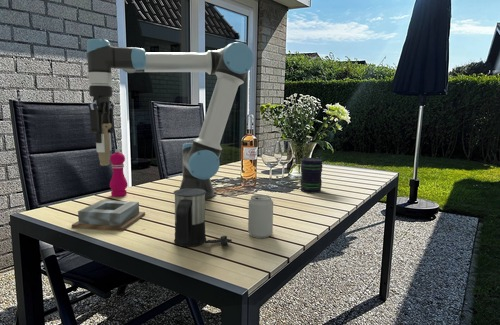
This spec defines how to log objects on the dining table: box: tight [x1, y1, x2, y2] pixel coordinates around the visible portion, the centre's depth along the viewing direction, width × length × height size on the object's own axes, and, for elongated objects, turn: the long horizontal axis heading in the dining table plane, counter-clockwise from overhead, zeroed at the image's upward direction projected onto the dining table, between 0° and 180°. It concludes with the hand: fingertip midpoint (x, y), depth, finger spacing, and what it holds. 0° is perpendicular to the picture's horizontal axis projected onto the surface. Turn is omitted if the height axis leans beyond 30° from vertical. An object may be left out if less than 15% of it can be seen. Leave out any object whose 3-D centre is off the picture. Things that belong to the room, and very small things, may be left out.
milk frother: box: [173, 188, 233, 248], centre depth 102 cm, size 14×16×15 cm
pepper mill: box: [109, 148, 128, 198], centre depth 155 cm, size 7×7×20 cm
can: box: [247, 194, 274, 239], centre depth 110 cm, size 8×8×12 cm
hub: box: [71, 199, 146, 232], centre depth 121 cm, size 17×17×5 cm
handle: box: [97, 123, 112, 167], centre depth 131 cm, size 5×6×15 cm
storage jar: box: [299, 157, 323, 194], centre depth 169 cm, size 10×10×15 cm
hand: (104, 151), depth 131 cm, fingers closed on handle, 4 cm apart
